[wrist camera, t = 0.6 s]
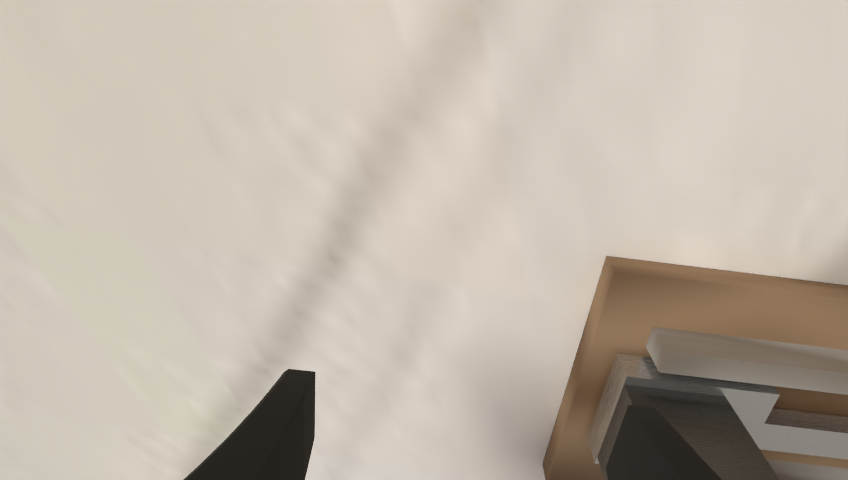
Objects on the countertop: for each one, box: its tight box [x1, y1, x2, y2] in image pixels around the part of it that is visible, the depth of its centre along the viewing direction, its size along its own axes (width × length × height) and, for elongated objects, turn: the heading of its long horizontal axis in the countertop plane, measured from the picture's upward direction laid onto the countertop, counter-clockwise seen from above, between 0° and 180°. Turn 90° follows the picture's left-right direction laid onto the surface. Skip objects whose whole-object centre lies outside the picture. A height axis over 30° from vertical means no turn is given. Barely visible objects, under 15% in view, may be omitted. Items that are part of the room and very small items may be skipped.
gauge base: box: [543, 256, 848, 480], centre depth 22 cm, size 12×19×6 cm, turn 83°
